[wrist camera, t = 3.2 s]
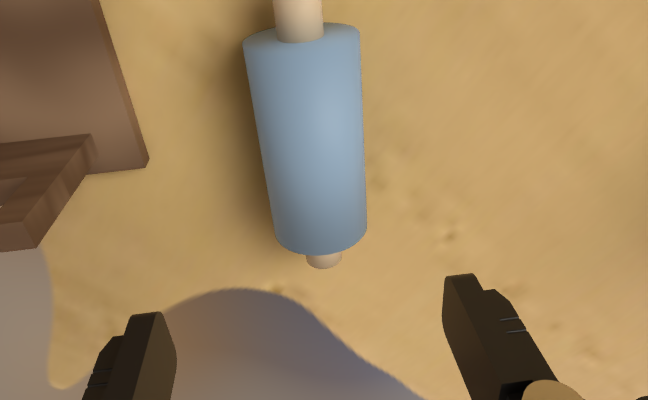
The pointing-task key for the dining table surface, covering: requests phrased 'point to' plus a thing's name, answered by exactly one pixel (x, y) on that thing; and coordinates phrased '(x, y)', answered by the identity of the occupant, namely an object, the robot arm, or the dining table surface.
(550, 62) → the dining table surface
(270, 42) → the towel roll
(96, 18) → the roll holder
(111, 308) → the dining table surface
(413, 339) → the dining table surface
